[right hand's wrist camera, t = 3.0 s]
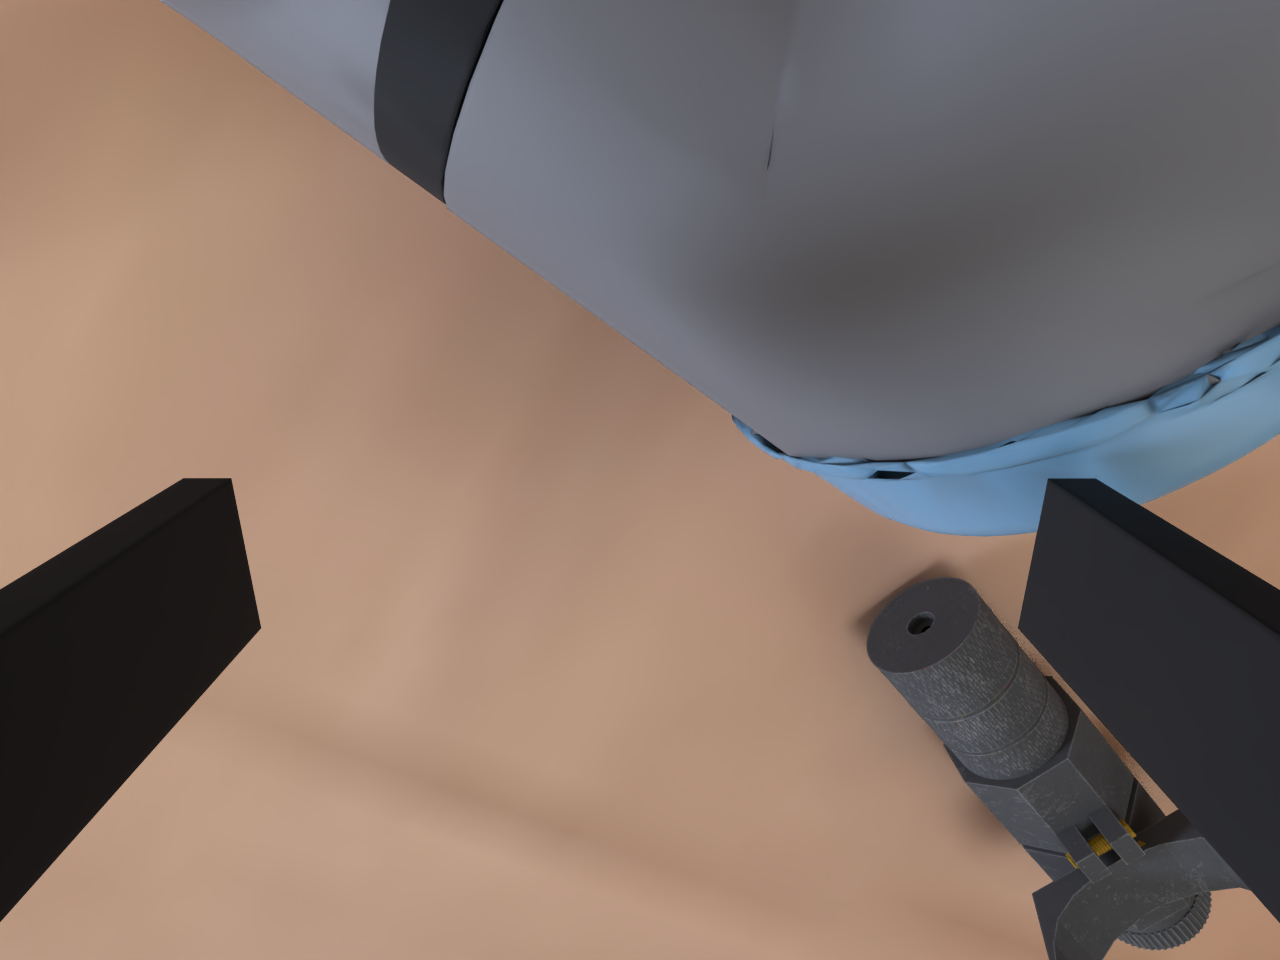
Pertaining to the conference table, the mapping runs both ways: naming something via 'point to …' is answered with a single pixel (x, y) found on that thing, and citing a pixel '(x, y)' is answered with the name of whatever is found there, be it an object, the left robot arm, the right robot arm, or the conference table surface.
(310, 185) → the conference table surface
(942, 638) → the laser sight
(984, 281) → the right robot arm
